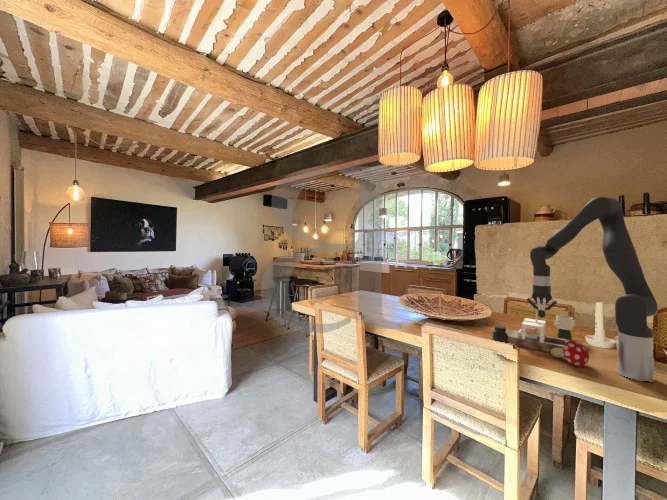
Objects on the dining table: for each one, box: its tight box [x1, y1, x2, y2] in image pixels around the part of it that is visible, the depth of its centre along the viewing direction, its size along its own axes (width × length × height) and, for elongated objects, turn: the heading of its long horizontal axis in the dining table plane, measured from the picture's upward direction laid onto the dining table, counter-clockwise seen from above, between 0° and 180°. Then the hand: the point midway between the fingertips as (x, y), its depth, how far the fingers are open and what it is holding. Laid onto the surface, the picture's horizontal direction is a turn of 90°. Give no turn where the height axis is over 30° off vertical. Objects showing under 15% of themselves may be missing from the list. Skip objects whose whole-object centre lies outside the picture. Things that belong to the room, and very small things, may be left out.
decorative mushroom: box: [550, 339, 590, 368], centre depth 122 cm, size 11×11×15 cm
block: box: [525, 326, 536, 335], centre depth 143 cm, size 5×5×5 cm
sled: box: [517, 312, 539, 339], centre depth 144 cm, size 8×8×13 cm
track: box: [506, 328, 569, 353], centre depth 142 cm, size 28×14×4 cm, turn 48°
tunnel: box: [521, 317, 547, 343], centre depth 142 cm, size 9×14×8 cm, turn 138°
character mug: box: [553, 314, 576, 340], centre depth 148 cm, size 11×7×13 cm, turn 85°
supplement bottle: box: [491, 324, 508, 343], centre depth 135 cm, size 7×7×12 cm
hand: (541, 317), depth 140 cm, fingers closed
